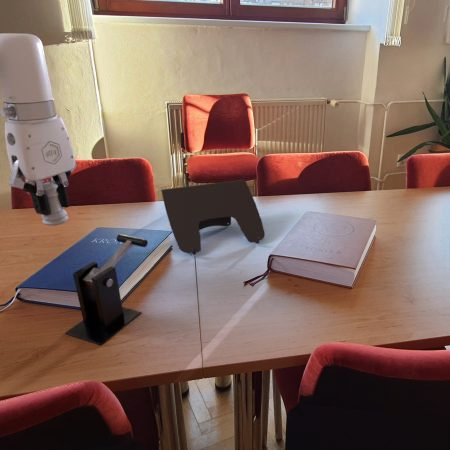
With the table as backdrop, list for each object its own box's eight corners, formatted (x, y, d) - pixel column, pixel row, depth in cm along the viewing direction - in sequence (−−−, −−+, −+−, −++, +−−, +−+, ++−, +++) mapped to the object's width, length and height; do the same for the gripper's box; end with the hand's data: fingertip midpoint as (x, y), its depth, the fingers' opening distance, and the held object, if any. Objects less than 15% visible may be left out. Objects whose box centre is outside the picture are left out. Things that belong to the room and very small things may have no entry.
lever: (124, 239, 85) (119, 230, 83) (149, 245, 83) (145, 236, 81) (80, 286, 76) (73, 277, 75) (107, 293, 74) (101, 284, 73)
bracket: (108, 307, 85) (98, 253, 80) (142, 317, 82) (133, 261, 78) (66, 338, 77) (51, 279, 72) (102, 350, 74) (89, 289, 69)
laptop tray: (178, 276, 108) (178, 253, 101) (161, 207, 120) (160, 183, 114) (267, 259, 116) (272, 237, 109) (242, 196, 129) (246, 173, 122)
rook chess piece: (71, 216, 87) (63, 177, 84) (64, 225, 83) (56, 185, 80) (47, 217, 86) (38, 178, 83) (39, 227, 82) (29, 186, 79)
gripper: (1, 121, 68) (28, 229, 75) (85, 106, 82) (101, 199, 89) (-32, 117, 70) (-3, 222, 78) (55, 103, 85) (73, 193, 92)
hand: (53, 209), depth 84 cm, fingers closed on rook chess piece, 3 cm apart
